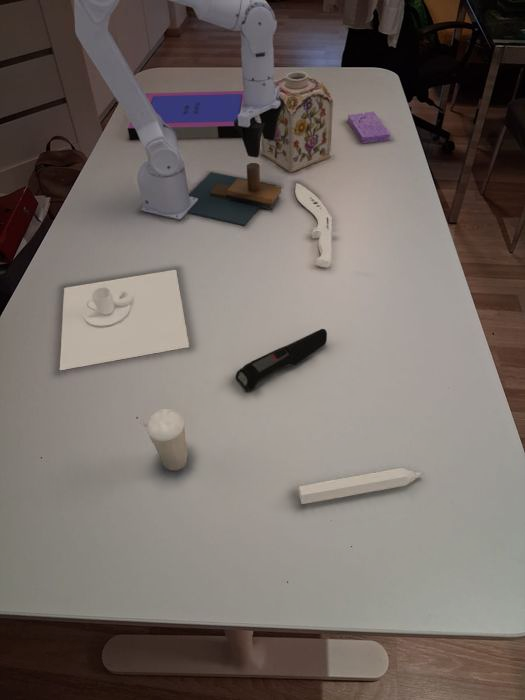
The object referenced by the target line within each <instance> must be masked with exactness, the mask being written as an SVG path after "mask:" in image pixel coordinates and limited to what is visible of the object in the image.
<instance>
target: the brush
mask: <svg viewBox="0 0 525 700" xmlns="http://www.w3.org/2000/svg"><path fill="white" fill-rule="evenodd" d="M243 179H244V178H243ZM243 179H237V180H236V181H235V182H234V183H233V184H232V185H231V186H230V188H229V189H228V190H227V193H228V195H230V200H231V201H234V202H239V203H244V204H248V205H253V206H258V207H259V208H262V209H263V208H264V209H268V210H272V208H273V207H274V205H275V204H276V203H277V202H278V201H279V199H280V194H281V193H282V186H278V185H276V186H274V185H275V184H273V185H268V184H269V183H268V184H263V183H264V182H263V183H260V182H261V167H260V164H259V163H258V162H250V163H247V164H246V179H247V180H243Z"/></svg>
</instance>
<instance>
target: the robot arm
mask: <svg viewBox="0 0 525 700" xmlns="http://www.w3.org/2000/svg"><path fill="white" fill-rule="evenodd" d="M128 1H129V0H126V2H128ZM168 1H169V2H173V3H175V4H179V5H182V6H186V7H189V8H192V9H193V11H194V13H195V16H196V17H197V18H198V20H200V21H202V22H207V23H210V24H211V25H212V24H213V25H215V26H217V27H221V28H224V29H227V30H229V31H233V32H240V43H241V46H240V57H241V75H242V88H243V89H242V91H244V100H243V103H242V107H241V111H240V113H239V115H238V118H237V119H236V120H235V121H234V127H235V128H236V129H237V131H238V132H239V134H240V136H241V138H240V139H241V140H242V142H243V145H244V148H245V152H246V154H247V157H251V158H259V156H260V152H261V141H262V137H261V134H262V133H263V137H264V139H269V140H274V138H275V134H276V129H277V124H278V120H279V116H280V113H281V111H282V109H283V107H284V101H283V100H279V99H277V98H278V97H279V96H280V93H279V86H275V85H274V81H275V54H274V53H275V52H274V51H275V50H274V44H273V43H274V42H273V41H274V35H275V32H276V30H277V26H278V21H277V20H276V14H275V12H274V11H273V9H272V7H271V6H270V4H269V3H268V2H267V0H168ZM119 2H120V0H73V9H74V15H73V16H74V31H75V36H76V37H77V40H78V41H79V42H80V44H81V46H82V47H83V48H84V50H85V52H86V54H87V55H88V57H89V58H90V59H91V61H92V63H93V65H94V67H95V69H97V72H99V74H100V76H101V78H102V79H103V80H104V82H105V84H106V85H107V87H108V88H109V90H110V92H111V93H112V95H113V96H114V98H115V99H116V101H117V103H118V104H119V106H120V108H121V109H122V111H123V112H124V114H125V116H126V117H127V118H128V121H129V123H130V122H131V123H132V125H133V126H134V128H135V129H136V131H137V134H138V136H139V139H140V140H139V141H140V145H141V146H142V148H143V150H144V151H145V153H146V157H147V161H145V162H143V163H142V164H141V165H140V167H139V169H138V171H137V186H138V190H139V194H140V199H141V204H142V207H141V209H140V210H141V212H145V213H148V214H153V215H157V216H162V217H165V218H170V219H174V220H179V221H180V220H182V219H183V218H184V217H185V216H186V214H188V213H187V212H188V210H189V209H190V208H191V207H192V206H193V205H194V204H195V203H196V202H197V201H198V198H194V197H190V196H189V194H190V193H189V185H188V180H187V172H186V165H185V161H184V159H183V157H182V154H181V152H180V147H179V143H178V142H179V139H178V138H177V135H176V133H175V131H174V130H173V129H172V128H171V127H169V126H168V125H166V124H165V123H164V121H163V120H162V118H161V117H160V115H158V114H157V113H156V112H155V110H154V108H153V106H152V105H151V103H150V101H149V100H148V98H147V96H146V94H145V93H146V92H145V91H144V89H143V88H142V86H141V84H140V83H139V81H138V79H137V78H136V75H135V74H134V72H133V71H132V69H131V67H130V66H129V63H128V62H127V60H126V59H125V57H124V56H123V54H122V52H121V50H120V48H119V47H118V45H117V43H116V41H115V39H114V38H113V36H112V34H111V33H110V31H109V24H110V20H111V15H112V14H113V12H114V11H115V9H116V7H117V6H118V4H119ZM257 116H259V119H260V122H258V121H257V119H256V117H257Z"/></svg>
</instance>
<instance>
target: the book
mask: <svg viewBox="0 0 525 700" xmlns="http://www.w3.org/2000/svg"><path fill="white" fill-rule="evenodd" d="M144 93H145V94H146V96H147V98H148V100H149V101H150V103H151V105H152V106H153V108H154V110H155V112H156V113H157V114H158V115H160V117H161V118H162V120H163V121H164V123H165V124H166V125H168V126H169V127H171V128H172V129H173V130H174V131H175V133H176V135H177V138H178V140H195V139H196V140H198V139H203V140H204V139H205V140H206V139H242V138H241V136H240V134H239V132H238V131H237V129H236V128H235V127H234V121H235V120H236V119H237V118H238V115H239V113H240V111H241V107H242V103H243V100H244V91H243V90H227V91H226V90H224V91H222V90H221V91H218V90H217V91H183V92H182V91H181V92H179V91H178V92H144ZM127 133H128V137H129V140H130V141H140V139H139V136H138V134H137V131H136V129H135V128H134V126H133V125H132V123H131V122H130V121H129V124H128V126H127Z"/></svg>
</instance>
